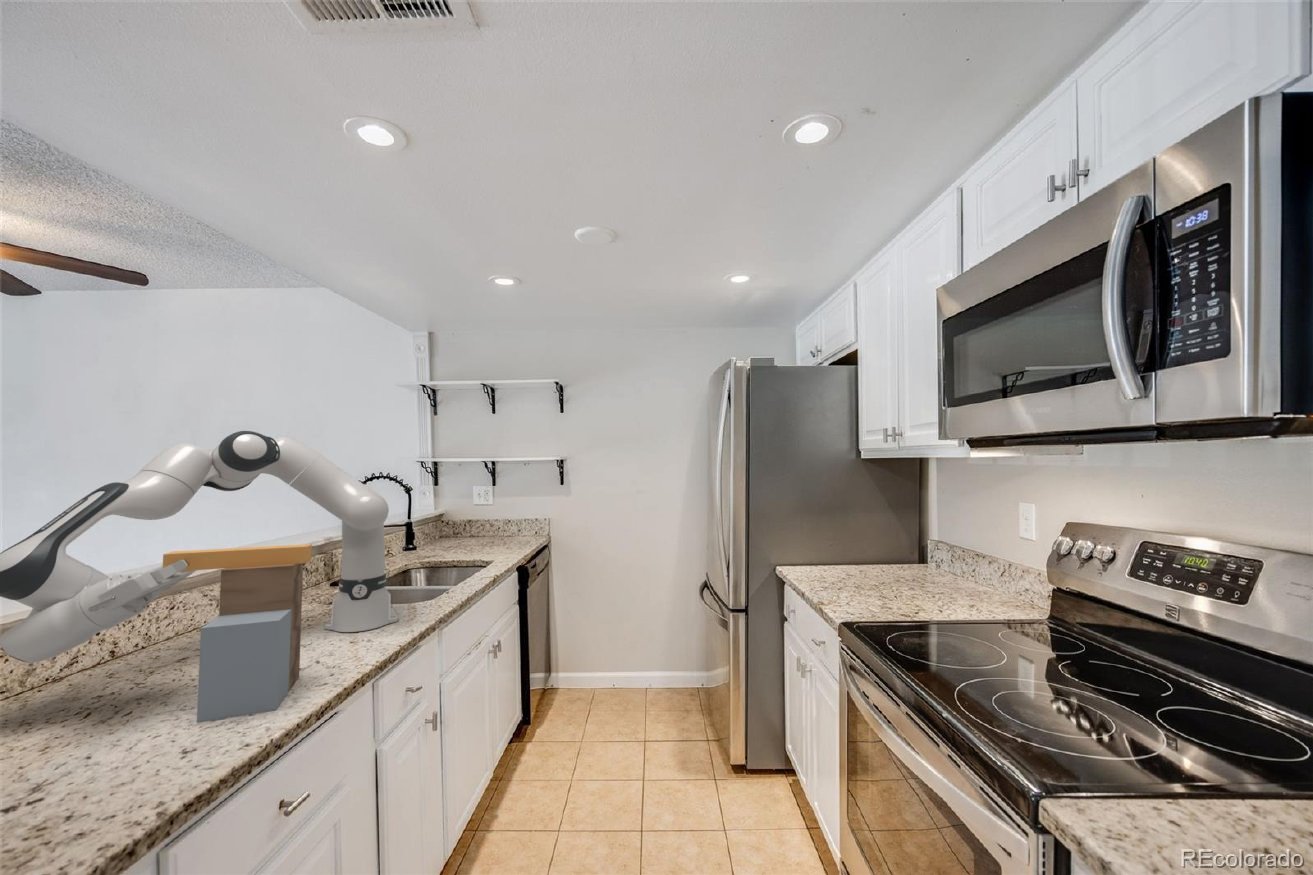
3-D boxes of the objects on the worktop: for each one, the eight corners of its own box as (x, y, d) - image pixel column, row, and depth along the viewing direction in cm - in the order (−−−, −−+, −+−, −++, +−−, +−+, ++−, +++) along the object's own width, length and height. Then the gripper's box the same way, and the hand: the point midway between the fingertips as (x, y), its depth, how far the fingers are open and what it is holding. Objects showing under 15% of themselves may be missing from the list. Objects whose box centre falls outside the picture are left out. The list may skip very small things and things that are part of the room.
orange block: (171, 568, 102) (172, 551, 102) (311, 560, 111) (311, 544, 111) (162, 572, 99) (163, 554, 99) (306, 562, 108) (307, 546, 108)
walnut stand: (231, 686, 107) (236, 563, 108) (299, 677, 111) (303, 558, 113) (215, 703, 99) (221, 570, 101) (288, 692, 104) (292, 565, 105)
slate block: (215, 703, 99) (219, 616, 100) (288, 692, 104) (291, 609, 105) (196, 722, 92) (200, 628, 93) (276, 710, 97) (279, 620, 97)
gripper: (70, 598, 88) (161, 553, 92) (137, 574, 106) (210, 538, 111) (93, 628, 88) (182, 582, 93) (155, 599, 107) (227, 562, 112)
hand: (197, 558), depth 103 cm, fingers open, 8 cm apart
